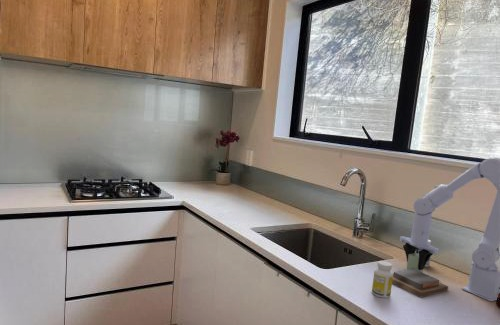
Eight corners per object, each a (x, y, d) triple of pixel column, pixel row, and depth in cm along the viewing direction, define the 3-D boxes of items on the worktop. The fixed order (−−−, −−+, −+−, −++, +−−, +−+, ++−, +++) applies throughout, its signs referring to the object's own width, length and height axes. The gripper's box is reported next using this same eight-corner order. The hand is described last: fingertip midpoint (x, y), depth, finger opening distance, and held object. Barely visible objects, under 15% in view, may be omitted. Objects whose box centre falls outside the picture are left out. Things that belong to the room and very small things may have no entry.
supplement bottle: (386, 291, 119) (390, 260, 117) (393, 299, 113) (397, 267, 112) (368, 289, 118) (373, 259, 117) (375, 297, 113) (379, 266, 112)
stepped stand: (447, 290, 124) (448, 281, 123) (420, 297, 116) (422, 287, 116) (410, 273, 136) (411, 265, 135) (383, 278, 128) (384, 270, 128)
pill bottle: (416, 260, 151) (420, 236, 150) (430, 264, 147) (434, 240, 146) (412, 263, 147) (416, 239, 146) (427, 268, 143) (431, 243, 142)
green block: (422, 272, 138) (425, 256, 137) (415, 274, 136) (418, 258, 135) (413, 268, 141) (415, 253, 141) (406, 269, 139) (408, 254, 138)
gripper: (396, 225, 141) (391, 260, 142) (432, 237, 129) (426, 276, 130) (408, 224, 145) (403, 258, 146) (444, 236, 132) (438, 273, 134)
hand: (415, 267), depth 138 cm, fingers closed on green block, 4 cm apart
